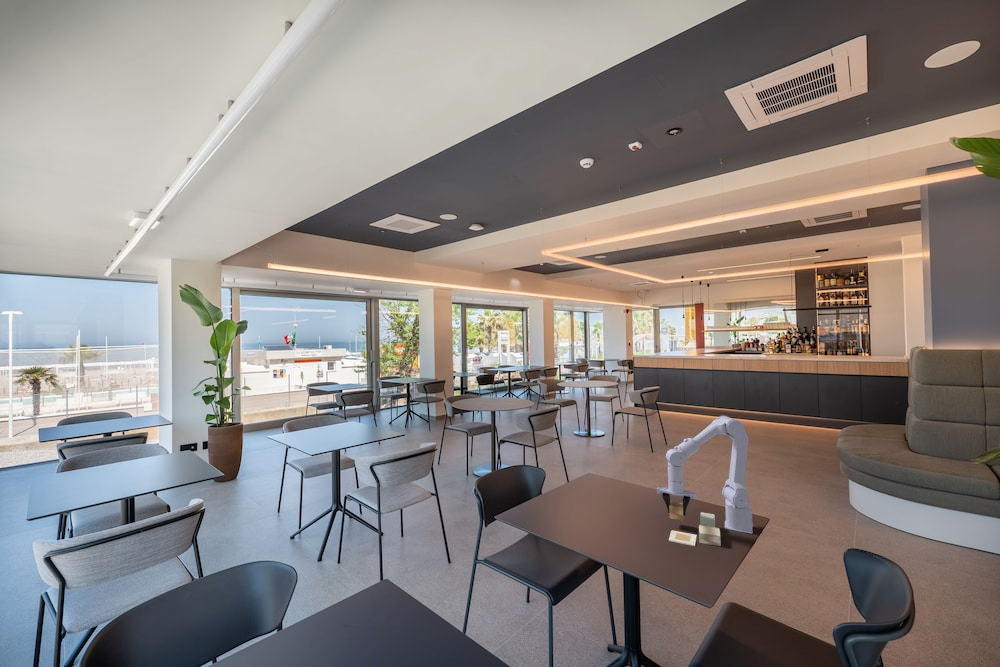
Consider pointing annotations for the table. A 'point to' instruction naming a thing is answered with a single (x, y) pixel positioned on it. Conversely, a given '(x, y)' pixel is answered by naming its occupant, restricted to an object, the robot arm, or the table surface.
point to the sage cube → (707, 519)
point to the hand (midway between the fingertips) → (676, 513)
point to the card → (682, 538)
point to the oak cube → (676, 511)
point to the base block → (709, 535)
